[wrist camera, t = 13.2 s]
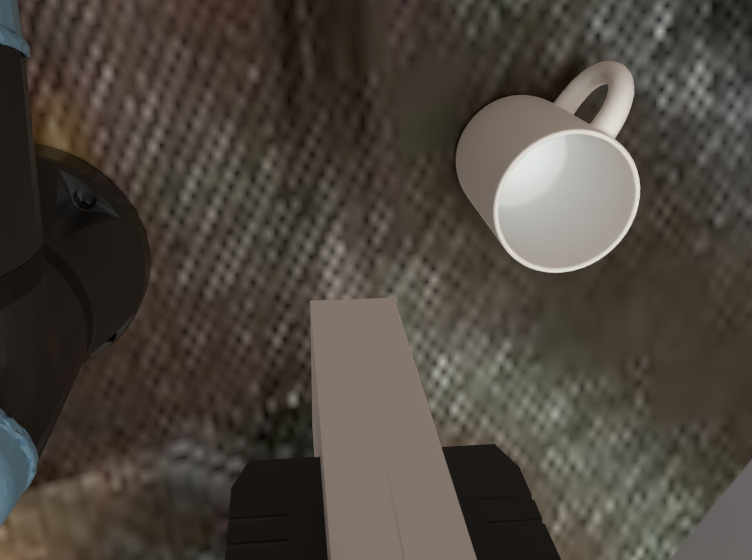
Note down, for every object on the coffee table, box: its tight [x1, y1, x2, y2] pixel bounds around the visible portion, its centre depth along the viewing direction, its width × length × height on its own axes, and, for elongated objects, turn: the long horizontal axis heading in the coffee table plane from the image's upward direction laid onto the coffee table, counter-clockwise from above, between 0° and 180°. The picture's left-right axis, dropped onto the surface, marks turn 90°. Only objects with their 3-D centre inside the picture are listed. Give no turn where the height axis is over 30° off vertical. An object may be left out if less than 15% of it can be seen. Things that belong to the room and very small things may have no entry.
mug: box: [456, 61, 640, 273], centre depth 43 cm, size 12×8×10 cm
